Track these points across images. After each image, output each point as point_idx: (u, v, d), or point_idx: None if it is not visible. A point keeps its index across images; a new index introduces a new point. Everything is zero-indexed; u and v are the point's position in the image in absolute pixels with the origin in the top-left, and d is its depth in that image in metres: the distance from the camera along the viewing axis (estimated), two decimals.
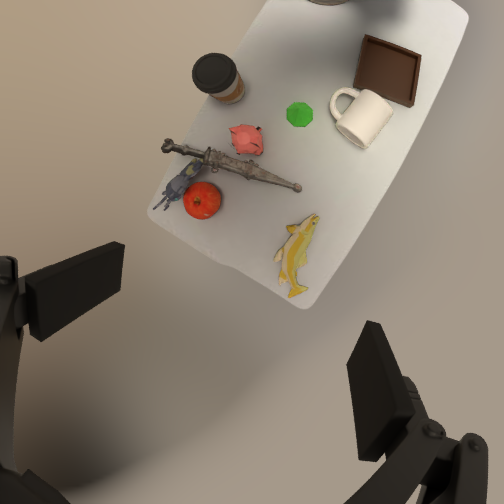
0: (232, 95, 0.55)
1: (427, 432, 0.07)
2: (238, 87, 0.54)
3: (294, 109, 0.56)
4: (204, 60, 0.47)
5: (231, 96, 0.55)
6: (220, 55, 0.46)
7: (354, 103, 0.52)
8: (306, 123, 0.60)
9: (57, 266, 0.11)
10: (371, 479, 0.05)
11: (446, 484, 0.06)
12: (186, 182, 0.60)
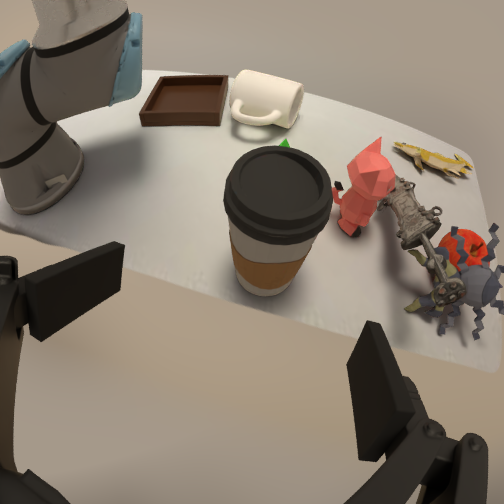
0: None
1: (427, 432, 0.07)
2: None
3: None
4: (253, 199, 0.20)
5: None
6: (237, 166, 0.22)
7: (255, 95, 0.42)
8: None
9: (57, 266, 0.11)
10: (371, 479, 0.05)
11: (446, 484, 0.06)
12: None
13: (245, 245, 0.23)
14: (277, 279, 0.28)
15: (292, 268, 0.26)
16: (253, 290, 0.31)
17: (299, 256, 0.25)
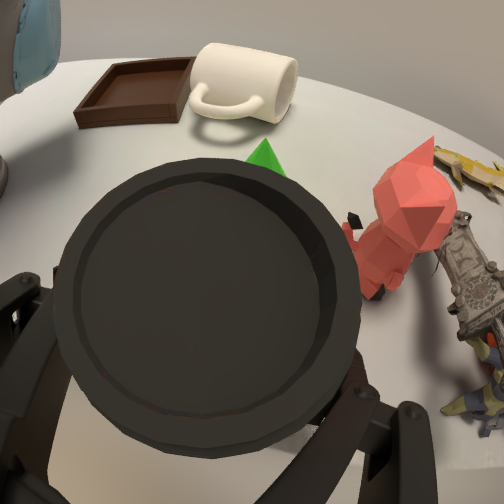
0: None
1: (359, 394, 0.08)
2: None
3: (265, 166, 0.24)
4: (105, 353, 0.06)
5: None
6: (82, 232, 0.07)
7: (225, 76, 0.27)
8: None
9: None
10: (308, 444, 0.06)
11: (390, 454, 0.07)
12: None
13: None
14: None
15: None
16: None
17: None
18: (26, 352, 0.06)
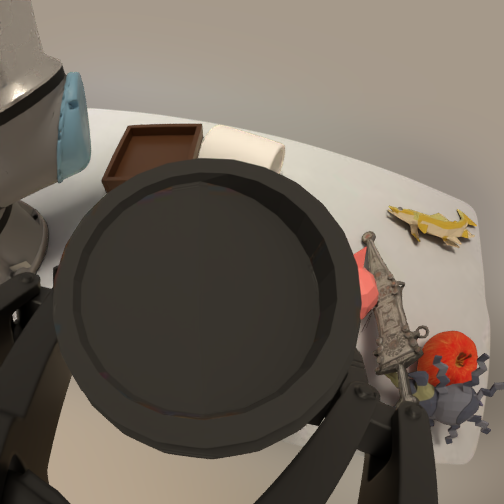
0: None
1: (359, 394, 0.08)
2: None
3: None
4: (105, 353, 0.06)
5: None
6: (82, 233, 0.07)
7: None
8: None
9: None
10: (308, 444, 0.06)
11: (390, 454, 0.07)
12: None
13: None
14: None
15: None
16: None
17: None
18: (26, 352, 0.06)
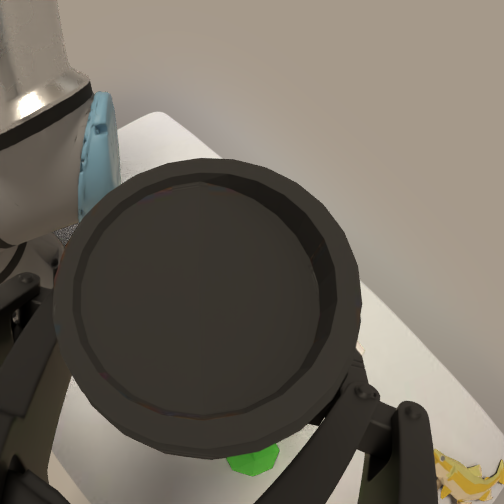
0: None
1: (359, 394, 0.08)
2: None
3: (248, 465, 0.23)
4: (105, 354, 0.06)
5: None
6: (82, 233, 0.07)
7: None
8: (275, 446, 0.27)
9: None
10: (308, 444, 0.06)
11: (390, 454, 0.07)
12: None
13: None
14: None
15: None
16: None
17: None
18: (26, 352, 0.06)
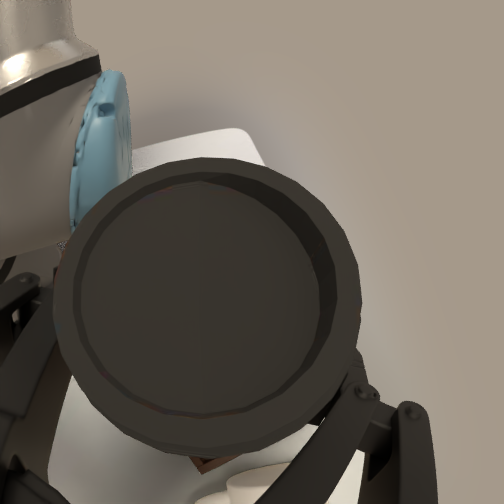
0: None
1: (359, 394, 0.08)
2: None
3: None
4: (105, 353, 0.06)
5: None
6: (83, 232, 0.07)
7: None
8: None
9: None
10: (308, 444, 0.06)
11: (390, 454, 0.07)
12: None
13: None
14: None
15: None
16: None
17: None
18: (26, 352, 0.06)
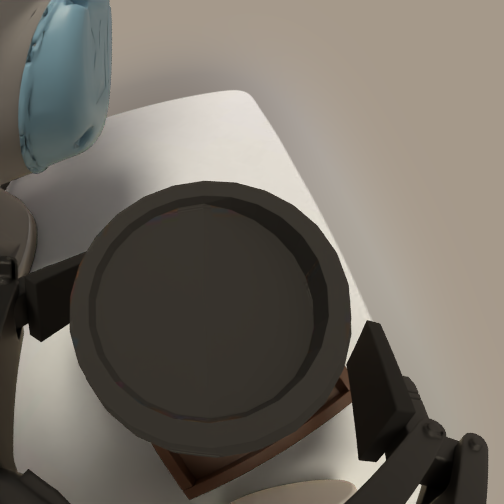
0: None
1: (427, 432, 0.07)
2: None
3: None
4: (120, 364, 0.06)
5: None
6: (95, 253, 0.08)
7: None
8: None
9: (57, 266, 0.11)
10: (371, 479, 0.05)
11: (446, 484, 0.06)
12: None
13: None
14: None
15: None
16: None
17: None
18: None
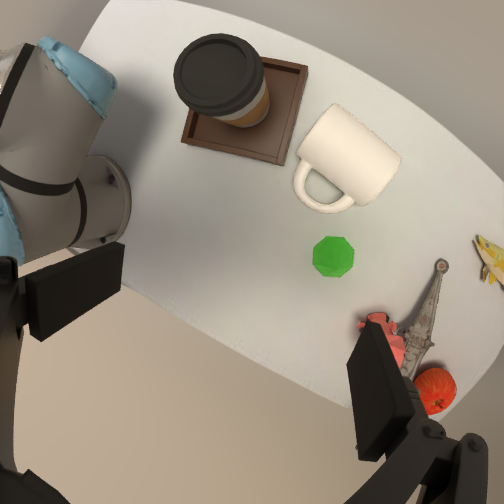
0: None
1: (427, 432, 0.07)
2: None
3: (334, 272, 0.37)
4: (210, 96, 0.23)
5: None
6: (179, 86, 0.23)
7: (328, 172, 0.32)
8: (350, 248, 0.39)
9: (57, 266, 0.11)
10: (371, 479, 0.05)
11: (446, 484, 0.06)
12: None
13: (227, 117, 0.27)
14: (261, 110, 0.31)
15: (265, 98, 0.29)
16: (252, 125, 0.36)
17: (263, 91, 0.27)
18: None
